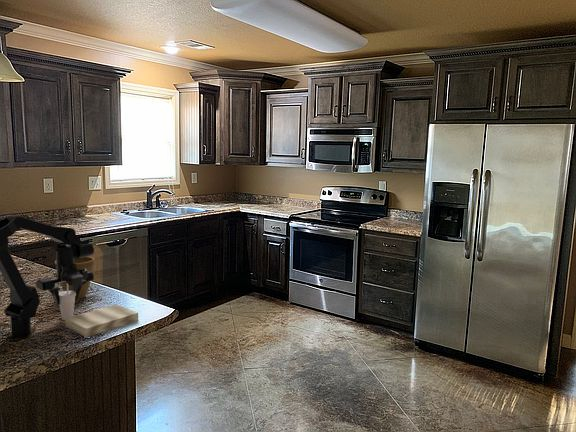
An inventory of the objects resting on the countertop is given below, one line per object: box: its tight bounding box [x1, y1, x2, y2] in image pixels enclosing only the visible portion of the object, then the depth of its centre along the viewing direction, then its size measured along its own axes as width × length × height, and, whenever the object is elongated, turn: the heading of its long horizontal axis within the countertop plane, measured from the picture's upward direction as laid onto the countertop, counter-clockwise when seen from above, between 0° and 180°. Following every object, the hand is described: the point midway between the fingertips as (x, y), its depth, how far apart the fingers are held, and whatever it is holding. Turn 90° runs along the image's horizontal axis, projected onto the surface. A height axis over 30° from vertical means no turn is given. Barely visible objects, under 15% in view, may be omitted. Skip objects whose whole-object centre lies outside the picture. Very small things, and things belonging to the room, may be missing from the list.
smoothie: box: [58, 283, 76, 321], centre depth 163 cm, size 6×6×14 cm
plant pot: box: [54, 256, 95, 300], centre depth 188 cm, size 15×15×16 cm
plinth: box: [64, 303, 139, 338], centre depth 160 cm, size 20×14×3 cm
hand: (66, 302), depth 163 cm, fingers open, 6 cm apart
